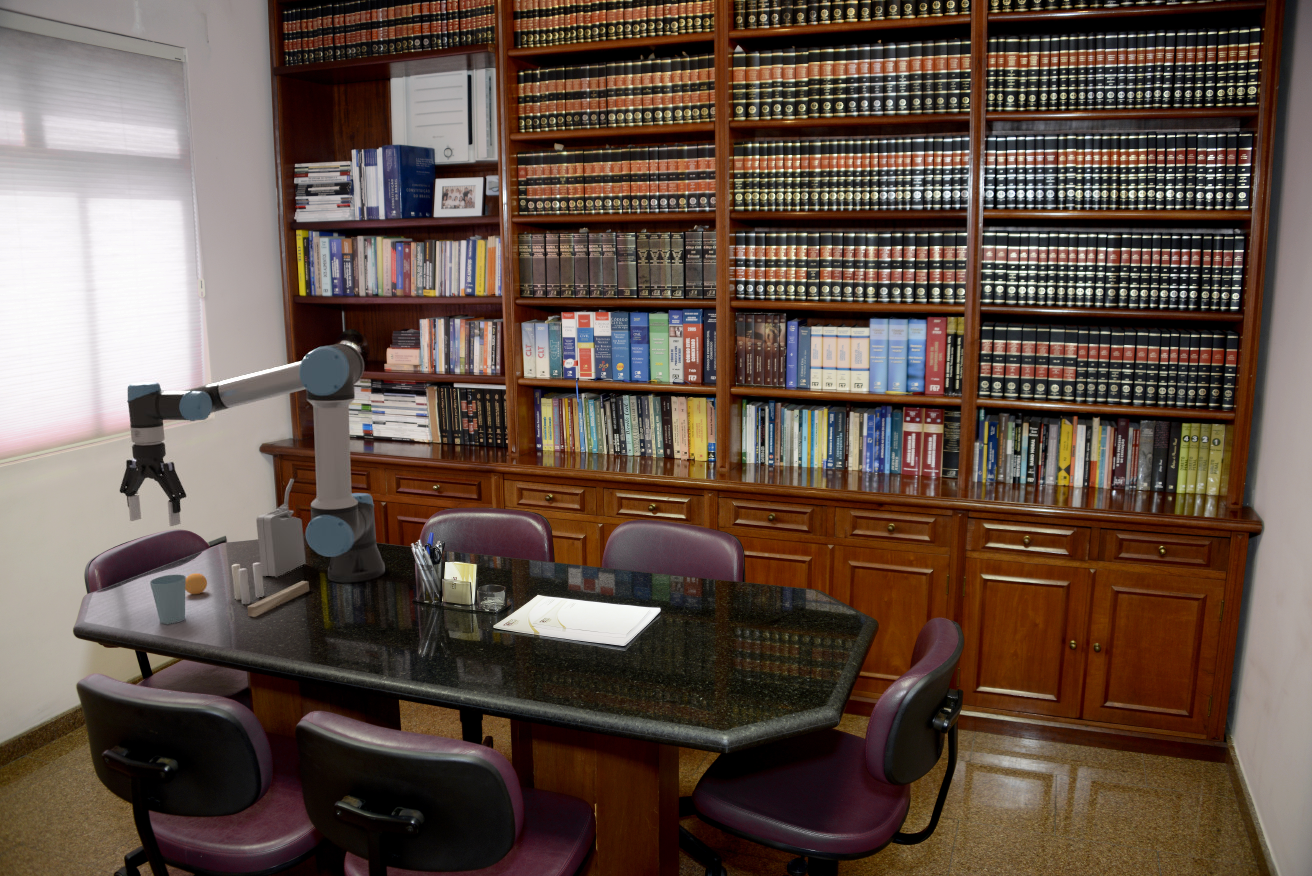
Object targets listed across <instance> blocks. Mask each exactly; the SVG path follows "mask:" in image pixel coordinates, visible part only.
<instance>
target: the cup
mask: <svg viewBox="0 0 1312 876" xmlns="http://www.w3.org/2000/svg"><path fill="white" fill-rule="evenodd" d="M186 578H187V577H186V576H185V575H184V574H168V575H162V576H158V577H156V578H153V579H151V580H150V582H149V584H150V588H151V591H152V595H153V598H154V603H155V607H156V611H157V616H158V619H159V623H160V624H162V623H163V624H164V625H172V624H177V623H180V622H182V621H184V620H185V619H186V590H185V585H186ZM176 622H177V623H176ZM171 623H172V624H171ZM163 624H162V625H163Z"/></svg>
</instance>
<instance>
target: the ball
mask: <svg viewBox="0 0 1312 876" xmlns="http://www.w3.org/2000/svg"><path fill="white" fill-rule="evenodd" d="M207 586H208V580H207V578H206V577H205V576H204V575H203V574H201V573H198V572H197V573H196V572H195V573H192V574H191V573H190V574H189V575H188V576H187V577H186V585H185V592H186V593H189V594H191V595H199V594H201V593H203V592H204V591H206V590H205V589H207Z"/></svg>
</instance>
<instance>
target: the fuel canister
mask: <svg viewBox="0 0 1312 876" xmlns="http://www.w3.org/2000/svg"><path fill="white" fill-rule="evenodd" d="M294 481H295V479H294V478H290V479H289V482H288V484H287V486H286V489H285V493H284V499H283V500H284V503H283V504H280V506H278V507H277V508H275V510H273V511H270V512H267V513H263V514H259V515H258V516H257V517H256V532H257V540H258V541H257V542H258V549H259V550H258V551H259V561H260V562H259V563H261V569H262V577H266V576H275V577H274V578H277V577H276V576H279V575H281V574H283V573H285V572H287V571H290V570H292V569H294V568H296V567H298V566H300V565H303V564H305V565H306V551H305V541H304V531H303V530H304V529H303V521H302V519H301V518H300V517H299V518H298V517H295V516H292V515H293V514H294V512H295V511H294V510H290V508H289V498H290V497H289V495H290V492H291V490H292V486H293V484H294ZM290 572H291V571H290Z"/></svg>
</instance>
